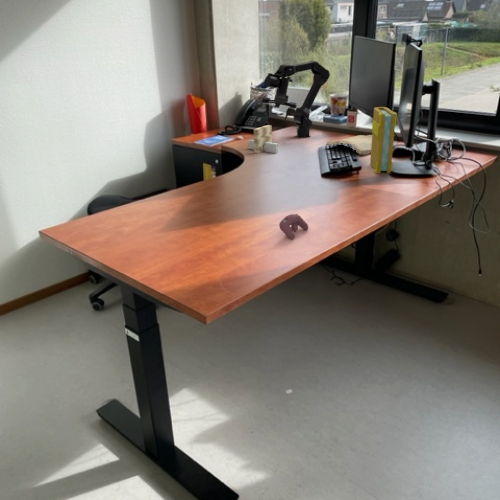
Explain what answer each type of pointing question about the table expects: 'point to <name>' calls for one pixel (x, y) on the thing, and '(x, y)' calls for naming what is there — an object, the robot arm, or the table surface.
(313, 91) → the robot arm
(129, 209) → the table surface
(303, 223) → the video game controller
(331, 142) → the beige piece
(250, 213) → the table surface
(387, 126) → the book
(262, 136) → the birch slotted plate
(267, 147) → the light grey slotted rail
